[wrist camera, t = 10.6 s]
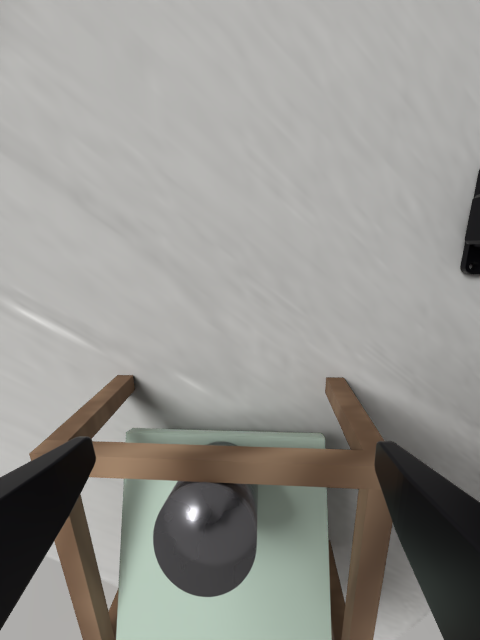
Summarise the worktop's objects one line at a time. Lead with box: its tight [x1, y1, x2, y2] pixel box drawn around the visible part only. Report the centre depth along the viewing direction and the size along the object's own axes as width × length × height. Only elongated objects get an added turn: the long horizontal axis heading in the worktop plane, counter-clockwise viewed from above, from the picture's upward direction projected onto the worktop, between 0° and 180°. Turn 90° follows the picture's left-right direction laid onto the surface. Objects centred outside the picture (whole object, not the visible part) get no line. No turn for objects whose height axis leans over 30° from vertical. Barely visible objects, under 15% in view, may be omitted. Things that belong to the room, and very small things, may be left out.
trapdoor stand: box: [29, 375, 392, 640], centre depth 19 cm, size 18×18×8 cm
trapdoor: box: [116, 428, 332, 640], centre depth 18 cm, size 14×14×1 cm
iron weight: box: [153, 441, 258, 597], centre depth 15 cm, size 5×5×6 cm
